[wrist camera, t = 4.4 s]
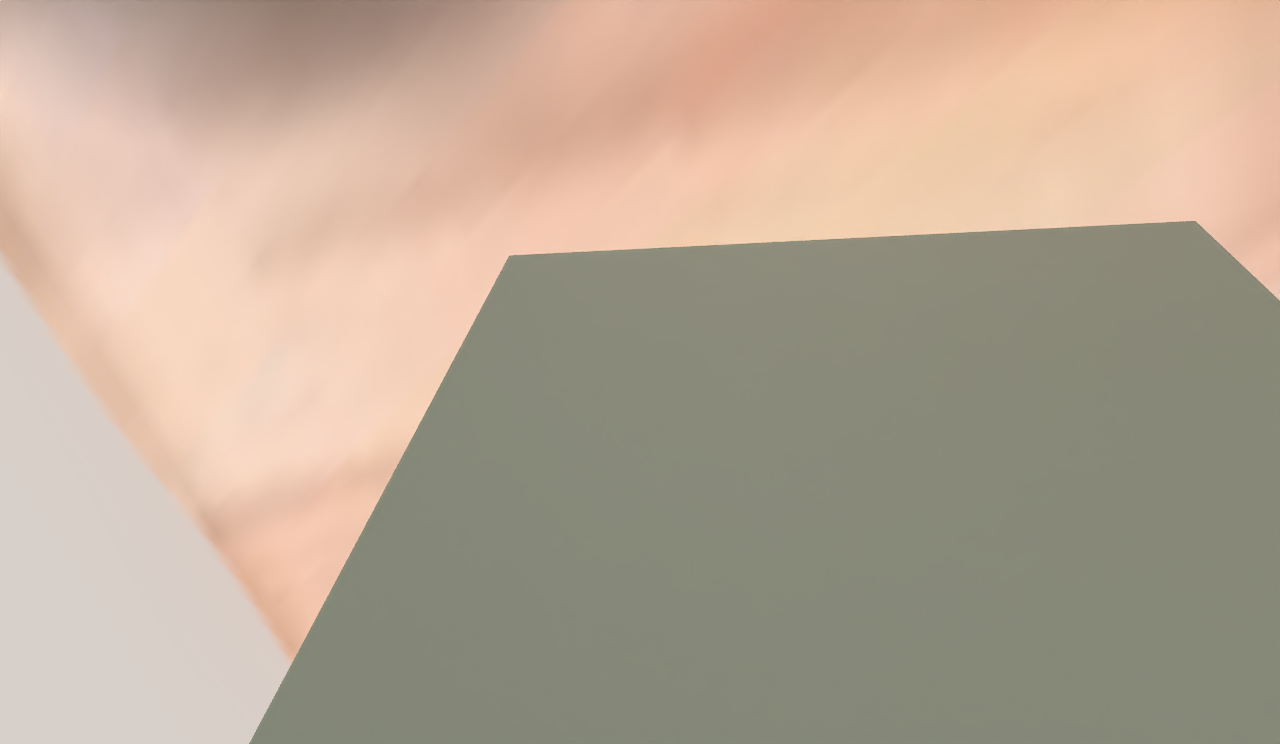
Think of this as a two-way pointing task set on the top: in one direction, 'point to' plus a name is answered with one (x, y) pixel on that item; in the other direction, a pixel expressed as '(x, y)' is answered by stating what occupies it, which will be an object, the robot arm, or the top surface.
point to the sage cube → (829, 504)
